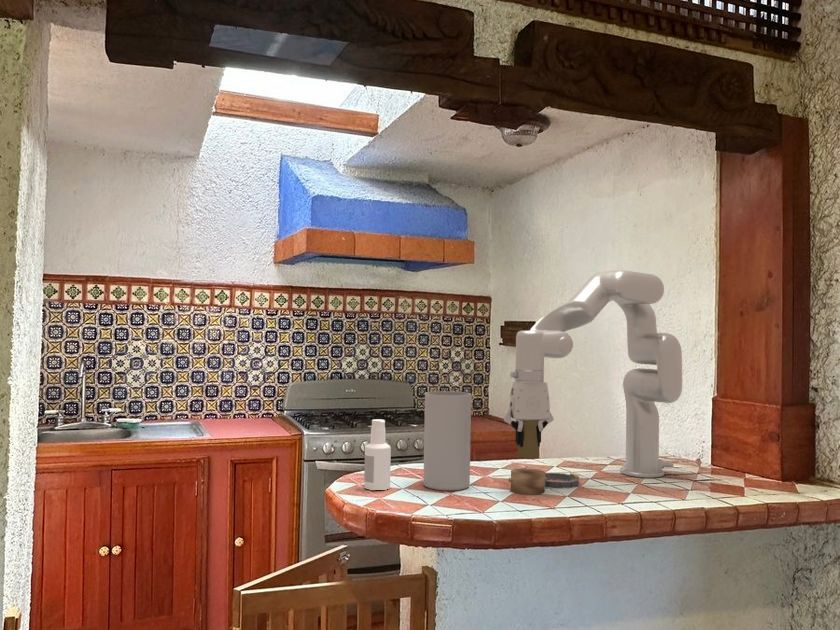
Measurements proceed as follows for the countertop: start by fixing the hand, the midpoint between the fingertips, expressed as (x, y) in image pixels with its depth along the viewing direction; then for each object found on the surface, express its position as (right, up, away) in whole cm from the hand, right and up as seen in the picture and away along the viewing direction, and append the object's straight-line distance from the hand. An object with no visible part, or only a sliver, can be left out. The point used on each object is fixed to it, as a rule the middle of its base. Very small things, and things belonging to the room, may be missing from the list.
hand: (528, 445), depth 182 cm
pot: (0, -12, 0) cm, 12 cm away
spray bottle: (-40, -11, -1) cm, 42 cm away
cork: (0, -3, 0) cm, 3 cm away
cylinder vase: (-22, -12, +3) cm, 25 cm away
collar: (+9, -12, +10) cm, 18 cm away
